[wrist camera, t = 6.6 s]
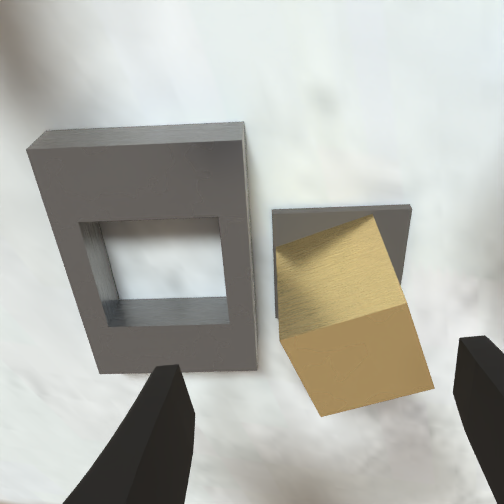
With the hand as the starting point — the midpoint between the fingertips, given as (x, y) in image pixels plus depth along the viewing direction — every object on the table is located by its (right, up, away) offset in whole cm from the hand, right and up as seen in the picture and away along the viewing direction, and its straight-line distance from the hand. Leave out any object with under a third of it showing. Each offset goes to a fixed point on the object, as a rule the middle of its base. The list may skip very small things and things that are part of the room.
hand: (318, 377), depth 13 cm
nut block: (+2, +3, +10) cm, 11 cm away
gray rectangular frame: (-6, +3, +10) cm, 12 cm away
